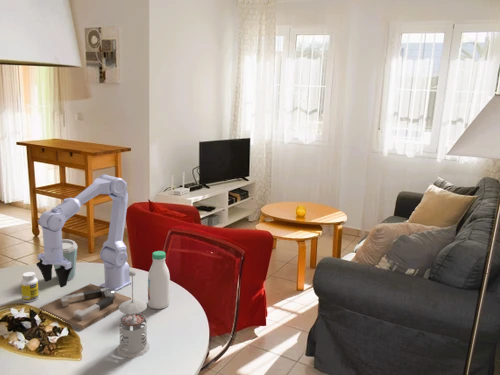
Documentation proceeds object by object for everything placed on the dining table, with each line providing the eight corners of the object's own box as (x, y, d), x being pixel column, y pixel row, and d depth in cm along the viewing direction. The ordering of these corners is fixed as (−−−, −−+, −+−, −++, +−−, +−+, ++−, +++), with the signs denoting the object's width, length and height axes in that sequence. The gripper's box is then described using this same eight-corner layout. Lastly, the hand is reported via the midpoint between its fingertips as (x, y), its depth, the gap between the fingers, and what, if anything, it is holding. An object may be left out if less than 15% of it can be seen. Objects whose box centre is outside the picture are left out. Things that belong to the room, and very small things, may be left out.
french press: (118, 360, 121) (116, 280, 115) (114, 338, 131) (112, 264, 126) (152, 353, 125) (152, 275, 119) (146, 332, 135) (145, 260, 130)
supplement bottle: (31, 303, 150) (30, 278, 147) (18, 301, 151) (16, 276, 148) (42, 296, 155) (40, 271, 153) (29, 294, 156) (27, 269, 154)
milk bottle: (173, 302, 155) (174, 251, 151) (161, 311, 148) (161, 258, 144) (156, 297, 158) (156, 247, 154) (143, 306, 152) (143, 254, 147)
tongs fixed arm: (105, 300, 151) (105, 295, 151) (113, 303, 149) (113, 298, 149) (74, 317, 139) (73, 311, 139) (82, 321, 138) (82, 314, 137)
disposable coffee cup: (83, 278, 170) (82, 243, 167) (56, 286, 163) (54, 250, 159) (72, 270, 177) (70, 236, 174) (46, 277, 170) (43, 242, 166)
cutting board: (90, 287, 164) (90, 283, 163) (131, 301, 154) (131, 298, 154) (39, 311, 145) (39, 307, 144) (82, 329, 135) (82, 325, 135)
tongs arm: (112, 291, 158) (112, 285, 157) (117, 298, 153) (116, 292, 152) (60, 302, 148) (60, 295, 148) (63, 310, 143) (63, 303, 143)
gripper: (28, 245, 141) (31, 282, 144) (57, 254, 135) (60, 293, 138) (46, 239, 147) (49, 275, 151) (75, 247, 141) (77, 285, 144)
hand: (55, 283), depth 145 cm, fingers open, 7 cm apart
